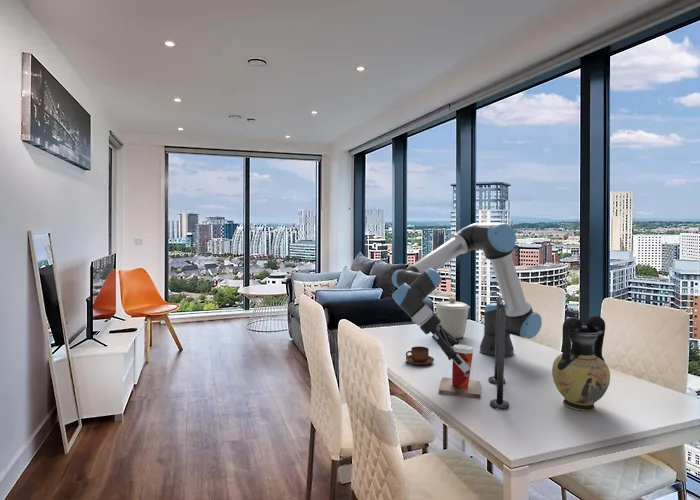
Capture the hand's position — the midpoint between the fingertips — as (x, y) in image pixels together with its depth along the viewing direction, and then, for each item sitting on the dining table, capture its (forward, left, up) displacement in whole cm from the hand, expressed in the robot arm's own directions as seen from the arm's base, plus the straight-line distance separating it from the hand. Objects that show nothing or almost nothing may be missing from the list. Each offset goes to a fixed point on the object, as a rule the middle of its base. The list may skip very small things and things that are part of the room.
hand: (468, 365), depth 162 cm
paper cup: (+2, -1, -8) cm, 8 cm away
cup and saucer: (+4, -34, -9) cm, 35 cm away
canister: (-30, -73, -9) cm, 79 cm away
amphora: (-29, +21, -9) cm, 37 cm away
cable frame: (-9, +5, -9) cm, 14 cm away
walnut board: (+2, -1, -9) cm, 9 cm away
